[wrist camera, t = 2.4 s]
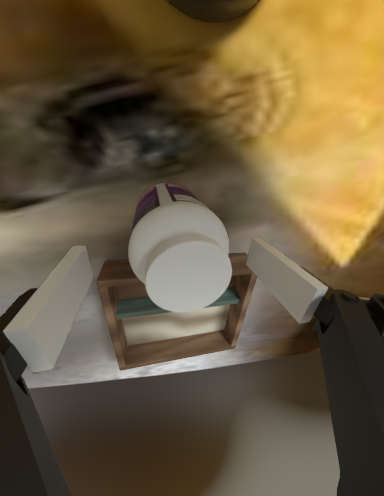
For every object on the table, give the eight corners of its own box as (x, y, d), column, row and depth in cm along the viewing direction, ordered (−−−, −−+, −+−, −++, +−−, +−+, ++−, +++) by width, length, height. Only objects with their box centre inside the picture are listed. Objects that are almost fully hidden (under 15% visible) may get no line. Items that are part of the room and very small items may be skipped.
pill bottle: (149, 246, 25) (150, 340, 12) (126, 191, 20) (90, 249, 8) (202, 230, 25) (253, 303, 13) (189, 173, 21) (246, 201, 9)
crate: (104, 261, 24) (96, 281, 20) (245, 252, 29) (259, 267, 25) (123, 345, 34) (120, 370, 30) (226, 328, 38) (234, 348, 35)
